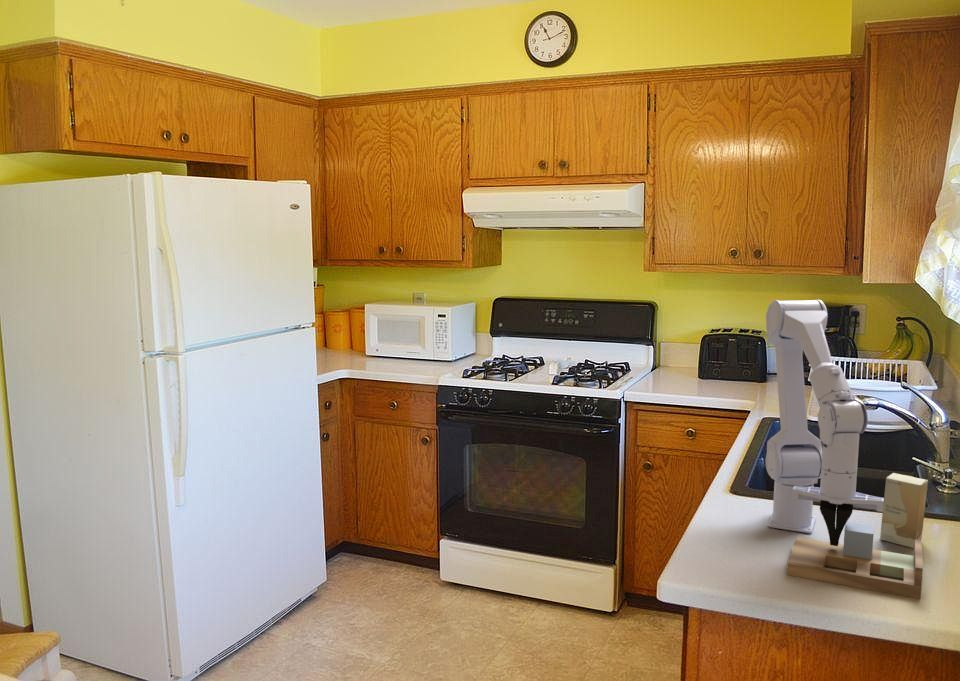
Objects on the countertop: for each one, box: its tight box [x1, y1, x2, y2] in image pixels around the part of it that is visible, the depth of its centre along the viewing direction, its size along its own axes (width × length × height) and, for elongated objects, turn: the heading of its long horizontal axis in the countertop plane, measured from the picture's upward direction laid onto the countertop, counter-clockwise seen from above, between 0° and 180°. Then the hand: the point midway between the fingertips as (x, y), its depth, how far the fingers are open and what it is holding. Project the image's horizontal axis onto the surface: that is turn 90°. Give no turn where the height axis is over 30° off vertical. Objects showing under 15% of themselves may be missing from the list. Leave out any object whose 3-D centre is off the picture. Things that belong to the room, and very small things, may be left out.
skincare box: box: [879, 472, 929, 549], centre depth 154 cm, size 6×4×12 cm
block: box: [843, 521, 875, 559], centre depth 145 cm, size 4×4×4 cm
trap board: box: [786, 536, 924, 599], centre depth 142 cm, size 13×20×5 cm, turn 63°
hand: (834, 543), depth 146 cm, fingers closed
